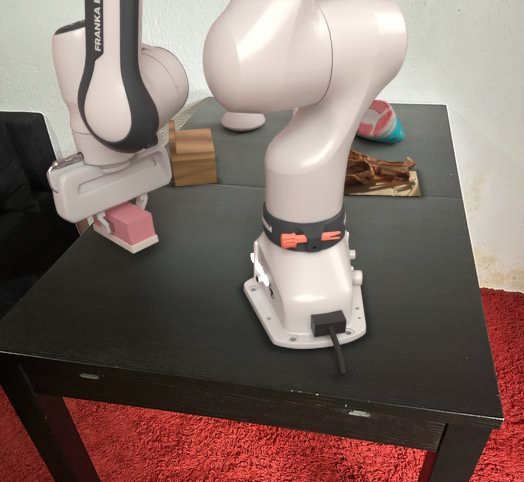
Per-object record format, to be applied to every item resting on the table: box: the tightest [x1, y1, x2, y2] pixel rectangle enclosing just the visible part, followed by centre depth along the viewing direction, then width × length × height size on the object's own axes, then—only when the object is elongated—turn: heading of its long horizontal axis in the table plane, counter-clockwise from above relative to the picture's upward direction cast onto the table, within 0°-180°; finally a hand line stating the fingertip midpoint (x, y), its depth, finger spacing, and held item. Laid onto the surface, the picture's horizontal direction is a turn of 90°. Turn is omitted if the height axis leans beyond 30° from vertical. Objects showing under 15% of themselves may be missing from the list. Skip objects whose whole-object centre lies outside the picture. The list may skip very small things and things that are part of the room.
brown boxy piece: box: [167, 119, 218, 187], centre depth 114 cm, size 13×9×9 cm
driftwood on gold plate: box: [343, 148, 422, 197], centre depth 110 cm, size 14×7×28 cm
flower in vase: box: [220, 110, 266, 132], centre depth 129 cm, size 13×11×25 cm
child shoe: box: [92, 201, 159, 254], centre depth 89 cm, size 12×5×5 cm, turn 46°
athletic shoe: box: [355, 99, 406, 144], centre depth 130 cm, size 27×9×12 cm
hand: (124, 225), depth 89 cm, fingers closed on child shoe, 5 cm apart
